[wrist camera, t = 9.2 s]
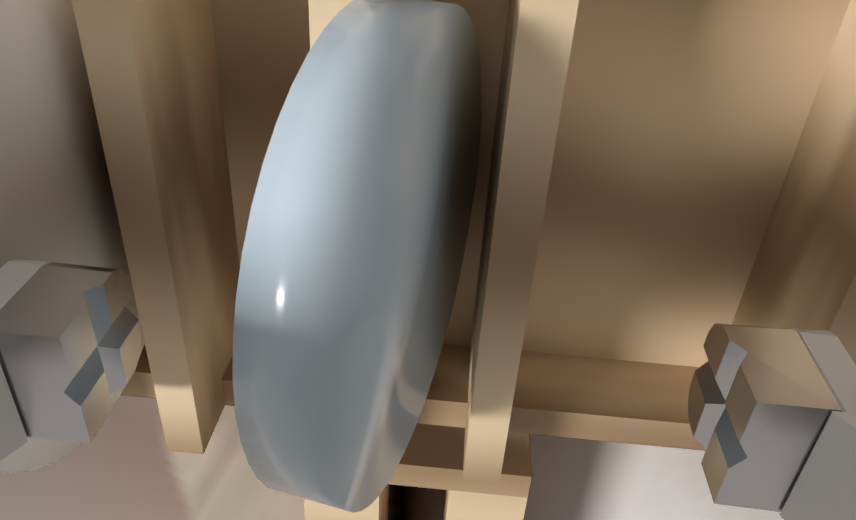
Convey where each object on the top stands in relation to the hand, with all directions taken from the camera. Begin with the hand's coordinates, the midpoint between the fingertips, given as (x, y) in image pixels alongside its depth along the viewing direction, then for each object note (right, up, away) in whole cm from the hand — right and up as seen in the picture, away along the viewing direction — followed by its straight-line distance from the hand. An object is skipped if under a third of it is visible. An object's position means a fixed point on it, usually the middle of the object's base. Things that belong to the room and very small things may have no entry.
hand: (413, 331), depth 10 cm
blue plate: (+1, +3, +5) cm, 6 cm away
